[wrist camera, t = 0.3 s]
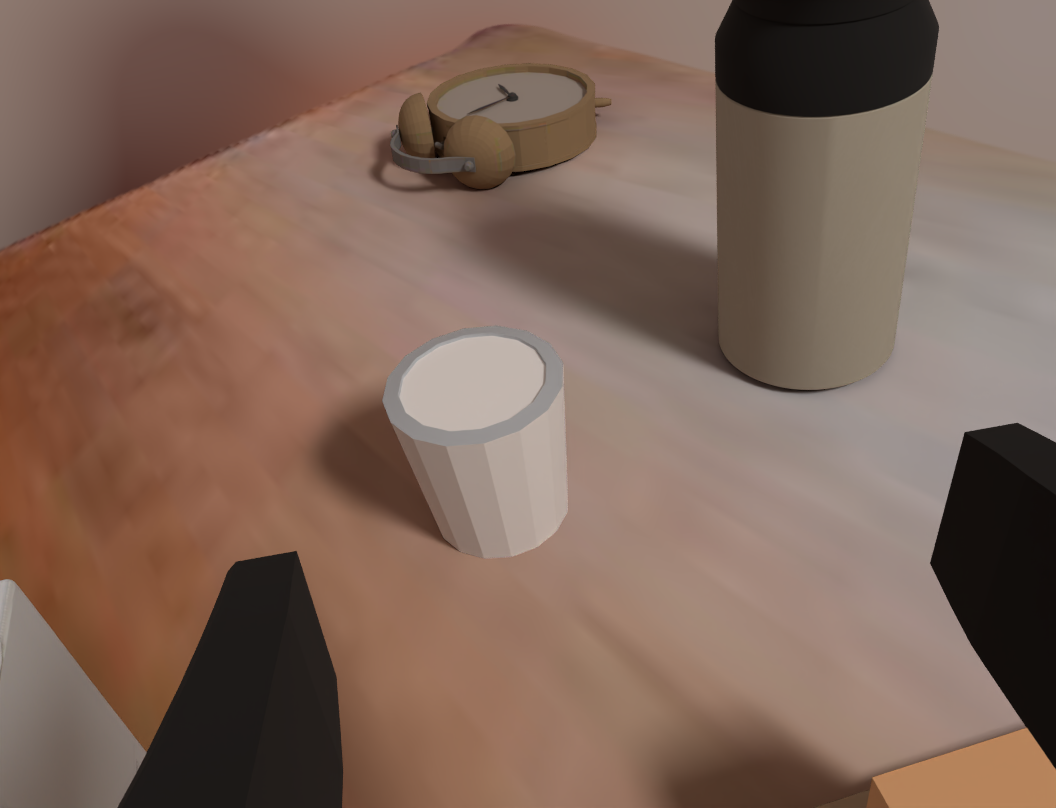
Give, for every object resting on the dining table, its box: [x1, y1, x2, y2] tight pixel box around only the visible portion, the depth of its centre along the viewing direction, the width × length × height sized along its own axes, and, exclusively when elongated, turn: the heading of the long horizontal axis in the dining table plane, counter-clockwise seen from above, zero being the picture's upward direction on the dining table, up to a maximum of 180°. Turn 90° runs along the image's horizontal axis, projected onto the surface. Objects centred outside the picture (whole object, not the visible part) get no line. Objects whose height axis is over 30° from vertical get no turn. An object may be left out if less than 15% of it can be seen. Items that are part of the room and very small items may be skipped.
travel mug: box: [715, 0, 939, 390], centre depth 39 cm, size 8×8×18 cm
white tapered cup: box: [382, 326, 568, 559], centre depth 38 cm, size 7×7×7 cm
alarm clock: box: [390, 63, 611, 189], centre depth 64 cm, size 11×5×15 cm
